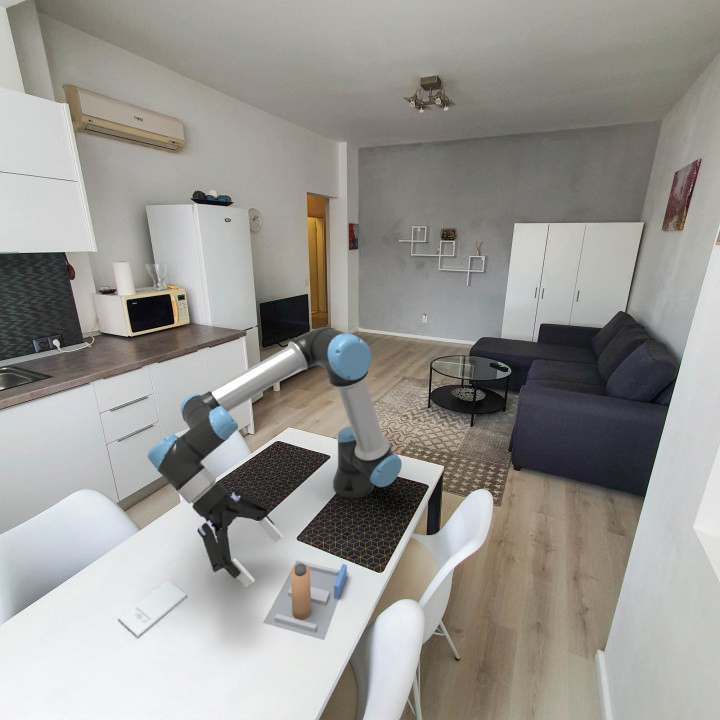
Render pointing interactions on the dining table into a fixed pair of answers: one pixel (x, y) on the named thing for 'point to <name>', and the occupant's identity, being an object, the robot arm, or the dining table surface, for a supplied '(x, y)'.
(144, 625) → the external hard drive
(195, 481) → the robot arm
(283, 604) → the gray ribbed plate
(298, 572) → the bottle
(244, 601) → the dining table surface
